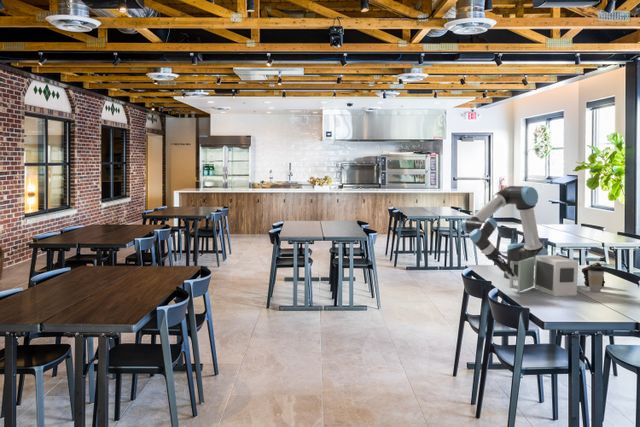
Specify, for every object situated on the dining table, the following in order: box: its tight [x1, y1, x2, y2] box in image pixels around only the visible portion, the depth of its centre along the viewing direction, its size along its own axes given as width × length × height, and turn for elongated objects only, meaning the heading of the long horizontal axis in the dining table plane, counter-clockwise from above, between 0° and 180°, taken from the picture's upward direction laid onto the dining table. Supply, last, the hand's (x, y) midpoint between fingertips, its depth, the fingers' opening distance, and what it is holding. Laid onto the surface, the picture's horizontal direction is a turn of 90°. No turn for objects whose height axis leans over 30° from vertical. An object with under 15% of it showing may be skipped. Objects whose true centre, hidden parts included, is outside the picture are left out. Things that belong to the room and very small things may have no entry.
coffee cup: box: [587, 265, 605, 294], centre depth 333 cm, size 9×9×15 cm
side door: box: [509, 257, 535, 293], centre depth 335 cm, size 23×7×18 cm, turn 138°
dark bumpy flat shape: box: [581, 262, 606, 288], centre depth 348 cm, size 4×13×15 cm, turn 86°
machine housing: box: [533, 254, 579, 297], centre depth 331 cm, size 23×14×20 cm, turn 9°
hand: (514, 278), depth 332 cm, fingers open, 4 cm apart
